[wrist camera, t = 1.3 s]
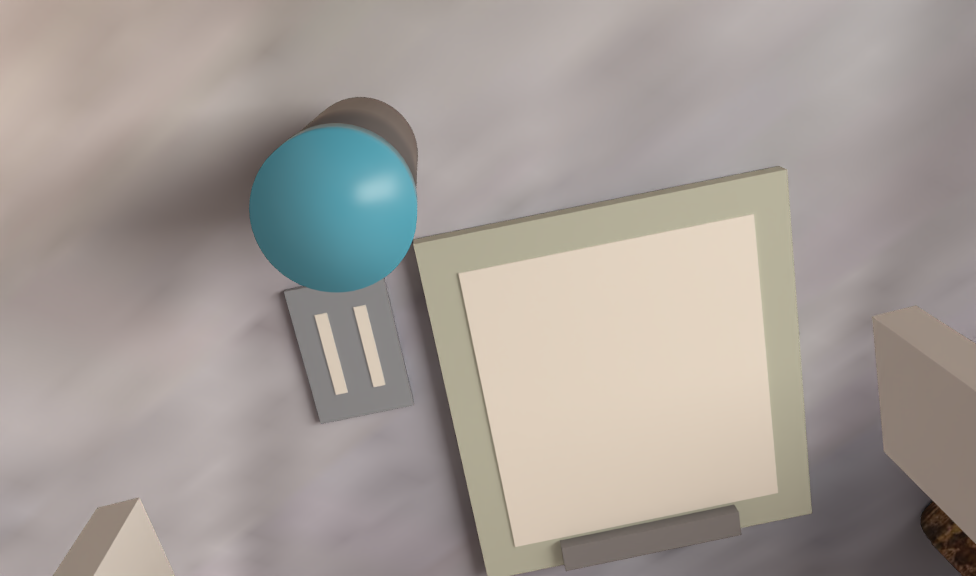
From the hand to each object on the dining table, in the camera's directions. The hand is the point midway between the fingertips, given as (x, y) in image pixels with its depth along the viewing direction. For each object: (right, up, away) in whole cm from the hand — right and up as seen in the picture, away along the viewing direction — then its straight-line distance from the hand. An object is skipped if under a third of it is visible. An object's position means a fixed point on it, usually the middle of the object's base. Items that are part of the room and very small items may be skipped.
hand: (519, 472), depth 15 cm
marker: (-5, +9, +17) cm, 20 cm away
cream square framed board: (+5, -1, +21) cm, 22 cm away
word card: (-6, +1, +20) cm, 21 cm away
